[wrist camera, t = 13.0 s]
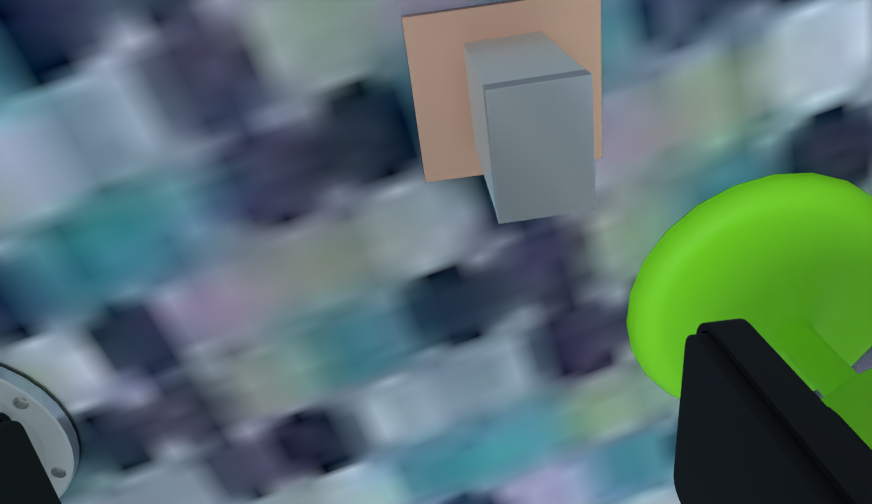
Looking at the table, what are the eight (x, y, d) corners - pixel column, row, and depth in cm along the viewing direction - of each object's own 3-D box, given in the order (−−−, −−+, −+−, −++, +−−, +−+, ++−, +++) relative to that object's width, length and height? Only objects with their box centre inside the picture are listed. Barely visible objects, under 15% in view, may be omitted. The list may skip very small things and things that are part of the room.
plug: (547, 135, 32) (595, 209, 25) (474, 146, 33) (498, 223, 25) (540, 30, 30) (592, 74, 22) (462, 42, 30) (485, 90, 22)
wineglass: (717, 132, 34) (1007, 334, 18) (961, 223, 37) (1393, 464, 21) (580, 372, 40) (700, 675, 24) (797, 431, 43) (1028, 734, 27)
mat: (599, 154, 34) (602, 158, 33) (425, 178, 34) (425, 182, 33) (597, -12, 30) (600, -11, 29) (401, 16, 30) (401, 17, 30)
